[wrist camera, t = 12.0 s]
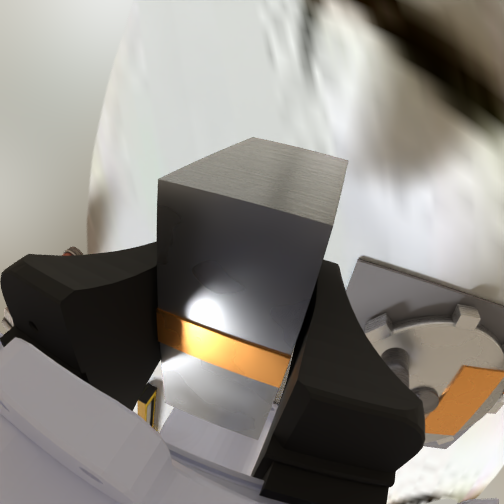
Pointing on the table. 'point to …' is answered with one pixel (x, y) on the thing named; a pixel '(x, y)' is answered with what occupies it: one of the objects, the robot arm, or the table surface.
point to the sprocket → (444, 366)
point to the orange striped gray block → (239, 274)
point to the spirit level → (147, 404)
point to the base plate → (413, 303)
